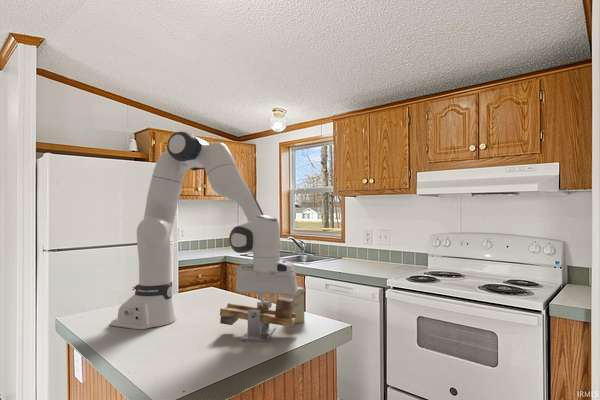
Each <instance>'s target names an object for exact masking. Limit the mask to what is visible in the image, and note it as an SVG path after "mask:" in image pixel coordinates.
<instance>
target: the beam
mask: <svg viewBox="0 0 600 400" xmlns="http://www.w3.org/2000/svg"><path fill="white" fill-rule="evenodd" d="M248 310H261V322H264V323H270V324H271V325H277V326H283V327H290V328H292V327H293V325H294V322H295V321H296V313H293V314H292V318H291V319H288V318H281V317H275V311H276V309H270V308H269V309H264V307H262V305H260V304H259V308H257V306H249V305H243V304H242V305H241V304H237V303H229V302H228V303H227V305H226V307H225V308H222V307H221V308H220V310H219V316H220V319H219V321H220V322H219V324H222V325H228V326H233V325H234V324H235V323H236V322H238V320H239V319H241V320H246V321H248Z"/></svg>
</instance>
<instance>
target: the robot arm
mask: <svg viewBox="0 0 600 400" xmlns="http://www.w3.org/2000/svg"><path fill="white" fill-rule="evenodd" d="M166 143H167V144H166V151H163V152H161V153H160V155H159V156H158V159H157V161H156V163H155V165H154V169H153V172H152V175H151V180H150V183H149V186H148V187H149V188H148V191H147V196H146V203H145V209H144V215H143V219H142V220H140V222H139V224H138V225H137V228H136V244H137V246H136V247H137V255H138V275H139V276H138V284H137V285H135V286H132V287H131V288H132V290H131V291H134V294H133V295H132V296H131V297H129V298H128V299H127V300H126V301H124V303H122V304H121V305H120V306H119V308H118V312H117V317H115V318H113V320H111V321H110V324H109V325H110V326H112V327H120V328H125V329H126V328H127V329H133V330H142V331H143V330H146V329H150V328H156V327H162V326H166V325H169V324H172V323H174V322H175V321H177V318H176V314H175V311H174V305H173V281H172V259H171V257H172V255H171V235H172V233H173V227H174V224H175V223H174V222H175V218H176V215H177V214H176V212H177V208H178V203H179V200H180V195H181V191H182V187H183V182H184V178H185V174H186V172H187V171H188V170H191V171H197V170H205V173H206V175H207V179H208V183H209V184H210V187H211V188H212V190H213V191H214V192H215V193H216V194H217V195H218V196H221V197H223V198H226V199H228V200H231V201H233V202H234V203H236V204H238V206H239V207H240V208H241V209H242V211H243V213H244V216H245V218H246V219H247V222H245V223H242V224H240V225H237V226H235V227H233V228H232V229H231V230H230V233H229V235H228V236H229V237H228V243H229V245H230V248H231V249H232V250H233V252H235V253H238V254H251V253H252V263H247V264H245V263H241V264H240V265H237V267H236V271H235V272H236V273H235V274H236V281H235V282H236V284H235V290H236V292H237V293H239V294H257V295H258V296H257V297H258V298H259V302H262V307H267V308H269V309H271V308H272V301H274V300H273V299H275V297H276V295H284V296H285V295H294V294H295V293H296V292H297V290H298V287H299V286H298V278H297V274H296V272H295V271H294V268H295V265H294V262H291V261H288V260H285V259H282V258H281V253H280V249H279V248H280V244H281V233H280V232H281V229H280V224H279V221H278V219H277V218H276V217H275V216H272V215H267V214H266V215H265V214H264V212H263V210H262V209H261V206H260V205H259V203H258V200H257V198H256V196H255V194H254V192H253V191H252V190H251V188H250V187H249V186H248V184H247V182H246V181H245V180H244V178H243V176H242V174H241V173H240V171H239V168H238V166H237V163H236V161H235V159H234V156H233V155H232V152H231V150H230V149H229V147H228V146H227V145H226V144H225V143H223V142H219V141H216V142H212V143H209V142H207V141H206V140H204V139H203V138H201V137H199V136H196V135H194V134H192V133H190V132H186V131H176V132H174V133H173V134H171V135H170V136H169V138H168V140H167V142H166ZM265 295H268V297H269V300H265V298H264V296H265Z"/></svg>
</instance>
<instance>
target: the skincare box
mask: <svg viewBox="0 0 600 400" xmlns="http://www.w3.org/2000/svg"><path fill="white" fill-rule="evenodd" d="M284 298H291V299H294V304H293V313H296V321H295V322H294V324H300V323H304V322H305V288H303V287H301V286H298V290H297V292H296V293H295V294H294V295H285V294H284ZM294 324H293V325H294Z"/></svg>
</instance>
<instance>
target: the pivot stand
mask: <svg viewBox="0 0 600 400" xmlns="http://www.w3.org/2000/svg"><path fill="white" fill-rule="evenodd" d="M259 304H260V305H262V302H261V301H257V302H256V308H259ZM264 309H269V310H270V308H267V307H264ZM276 329H277V328H276V326H275V325H270V323H264V322H261V310H248V320H247V330H246V332H245V334H244V335H243V336H242V337H241V338H240V341H241V342H251V343H267V342H268V340H269V338H270V337H271V336H272V334H274V332H275V330H276Z"/></svg>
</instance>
